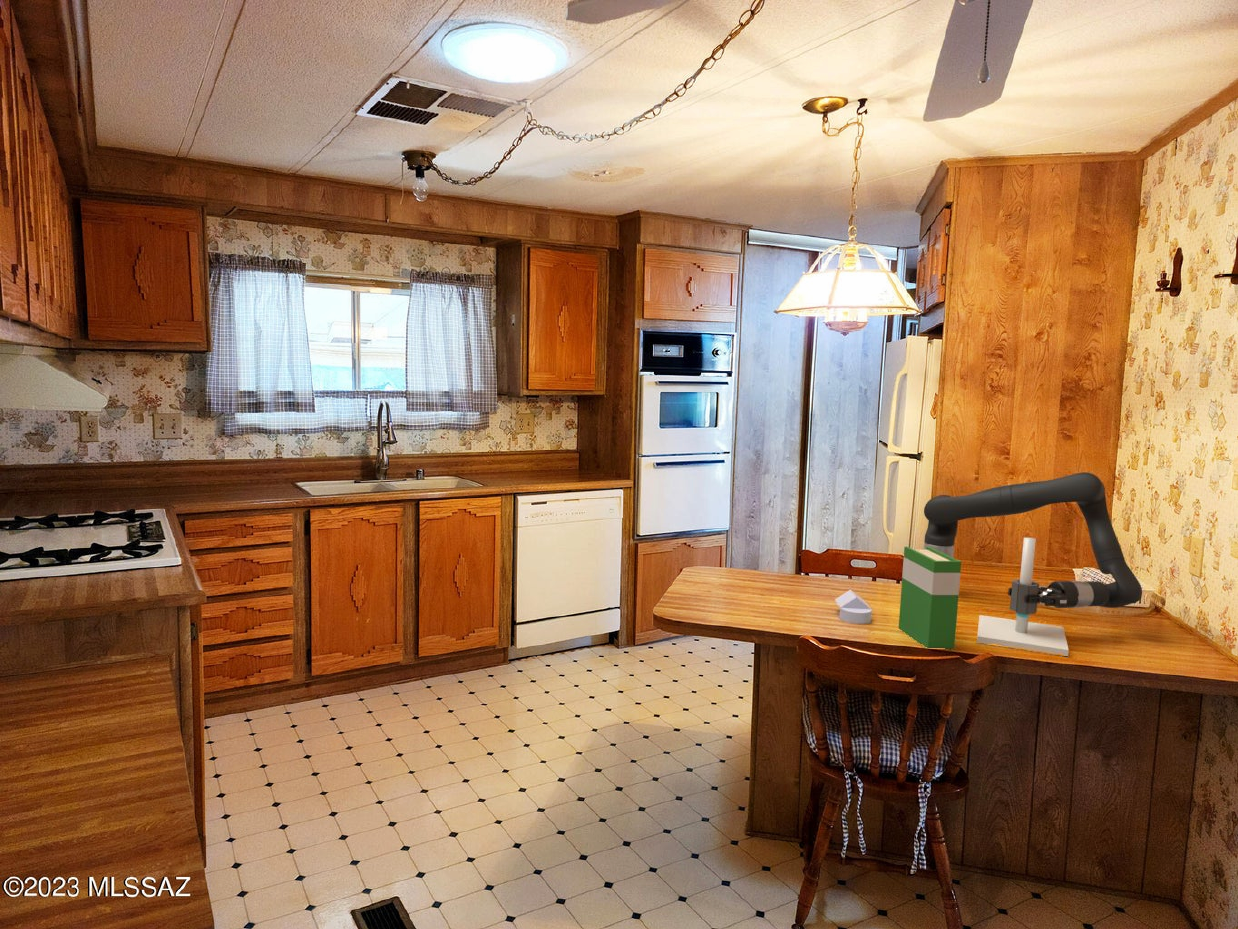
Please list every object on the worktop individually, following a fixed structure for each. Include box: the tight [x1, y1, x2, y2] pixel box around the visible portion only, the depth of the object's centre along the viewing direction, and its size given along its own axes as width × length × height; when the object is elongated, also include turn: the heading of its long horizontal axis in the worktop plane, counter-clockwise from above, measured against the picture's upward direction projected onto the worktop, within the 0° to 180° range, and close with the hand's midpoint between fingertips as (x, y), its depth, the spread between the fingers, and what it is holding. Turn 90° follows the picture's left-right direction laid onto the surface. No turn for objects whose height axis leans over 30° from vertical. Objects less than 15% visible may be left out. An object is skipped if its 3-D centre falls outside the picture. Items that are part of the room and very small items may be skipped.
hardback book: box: [898, 546, 962, 650], centre depth 224 cm, size 18×7×24 cm, turn 6°
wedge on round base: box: [834, 589, 872, 625], centre depth 243 cm, size 9×7×13 cm
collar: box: [1009, 579, 1040, 615], centre depth 227 cm, size 7×7×8 cm
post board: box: [976, 537, 1069, 657], centre depth 227 cm, size 22×22×28 cm
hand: (1017, 595), depth 227 cm, fingers closed on collar, 6 cm apart
